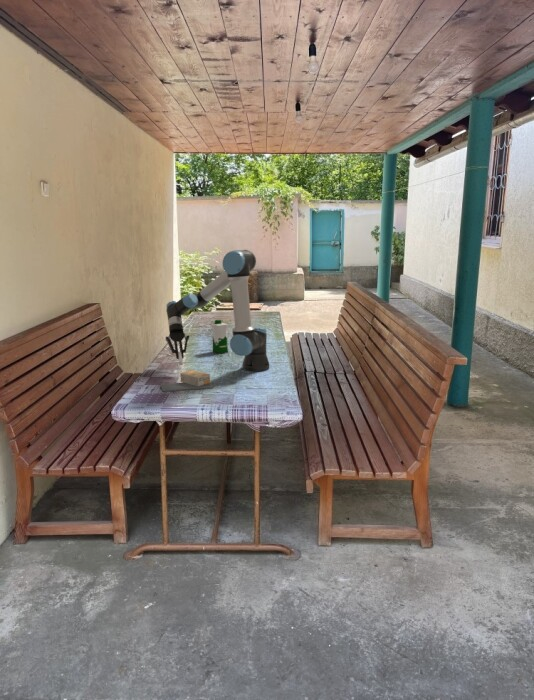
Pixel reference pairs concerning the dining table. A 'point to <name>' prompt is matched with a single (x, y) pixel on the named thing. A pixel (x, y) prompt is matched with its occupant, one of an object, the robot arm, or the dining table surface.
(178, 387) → the rubber mat
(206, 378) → the supplement box
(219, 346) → the milk carton
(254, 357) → the robot arm
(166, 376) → the dining table surface
